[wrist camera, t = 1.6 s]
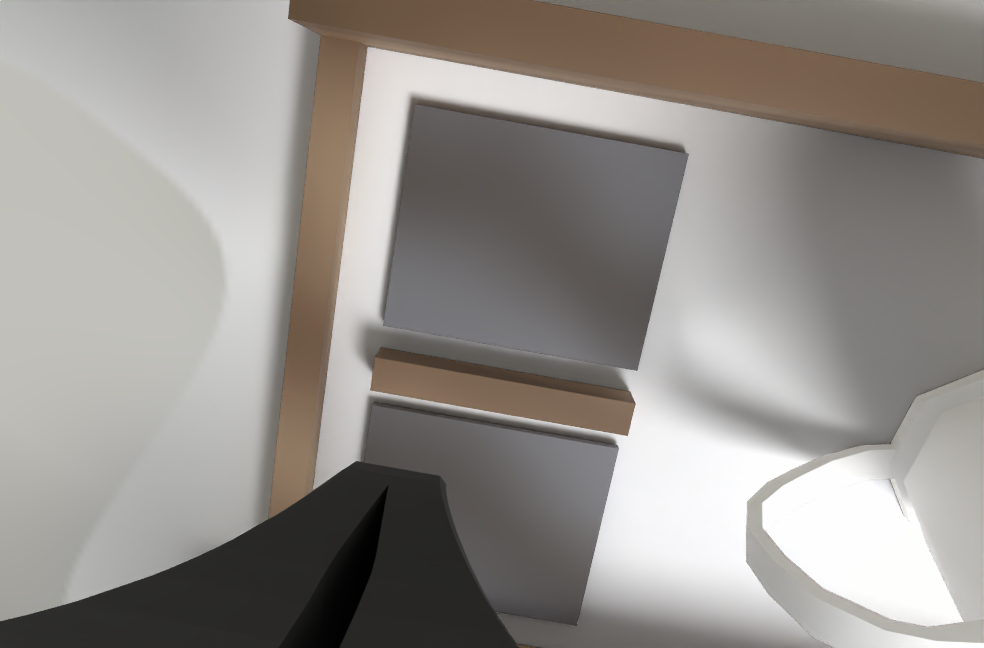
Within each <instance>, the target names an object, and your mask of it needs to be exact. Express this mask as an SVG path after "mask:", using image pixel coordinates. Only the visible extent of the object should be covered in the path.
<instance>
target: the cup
mask: <svg viewBox="0 0 984 648" xmlns="http://www.w3.org/2000/svg"><path fill="white" fill-rule="evenodd" d="M877 479H890V480H891V483H892V485H893V488H894V491H895V493H896V496H897V499H898V501H899V504H900V507H901V509H902V512H903V515H904V517H905V518H906V519H907V520H908V521H909V522H910V523H911V524H914V525H917V526H920V527H921V530H922V533H923V535H924V538H925V541H926V543H927V546H928V548H929V550H930V552H931V554H932V556H933V559H934V561H935V563H936V565H937V567H938V569H939V571H940V573H941V575H942V578H943V580H944V582H945V584H946V586H947V588H948V590H949V592H950V594H951V596H952V599H953V601H954V603H955V605H956V607H957V609H958V611H959V613H960V615H961V617H962V619H963V621H964V622H960V623H953V624H946V625H939V626H931V627H926V626H921V625H916V624H911V623H906V622H901V621H896V620H891V619H889V618H886V617H884V616H882V615H880V614H878V613H876V612H873V611H871V610H869V609H867V608H865V607H862V606H860V605H858V604H856V603H854V602H852V601H849V600H847V599H845V598H843V597H841V596H839V595H836V594H834V593H832V592H830V591H828V590H826V589H823V588H822V587H821V586H820V585H819V584H817V583H816V582H815V581H814V580H813V579H812V578H811V577H809V576H808V575H807V574H806V573H805V572H804V571H803V570H801V569H800V568H799V567H798V566H797V565H796V564H795V563H793V562H792V561H791V560H790V559H789V558H788V557H787V556H785V555H784V553H783V552H782V551H781V550H780V548H779V547H778V546H777V545H776V544H775V542H774V541H773V540H772V539H771V537H770V536H769V535H768V534H767V533H766V531H767V530H768V529H769V528H770V527H771V526H772V525H773V524H774V523H776V522H777V521H778V520H779V519H780V518H781V517H783V516H784V515H786V514H788V513H790V512H791V511H793V510H795V509H797V508H798V507H800V506H802V505H804V504H805V503H807V502H809V501H811V500H813V499H815V498H817V497H819V496H821V495H823V494H825V493H827V492H829V491H831V490H834V489H837V488H841V487H844V486H847V485H851V484H854V483H857V482H861V481H864V480H877ZM746 562H747V564H748V565H749V566H750V568H751V569H752V571H753V572H754V574H755V575H756V577H757V578H758V580H759V581H760V582H761V584H762V585H763V587H764V588H765V590H766V591H767V593H768V594H769V595H770V596H771V597H772V598H773V599H774V600H775V601H776V602H777V603H778V604H779V605H780V606H781V607H782V608H783V609H784V610H785V611H786V612H787V613H788V614H789V615H790V616H791V617H793V618H794V619H795V620H796V621H797V622H798V623H799V624H800V625H801V626H802V627H803V628H804V629H805V630H806V631H807V632H808V633H809V634H810V635H811V636H812V637H814V638H816V639H817V640H819V641H821V642H823V643H825V644H827V645H829V646H831V647H833V648H984V370H981V371H979V372H976V373H974V374H971V375H969V376H966V377H964V378H961V379H959V380H956V381H954V382H951V383H949V384H946V385H944V386H941V387H939V388H936V389H934V390H931V391H929V392H926V393H924V394H921V395H919V396H916V397H915V399H914V401H913V403H912V405H911V406H910V408H909V410H908V412H907V414H906V416H905V418H904V419H903V421H902V423H901V425H900V427H899V429H898V431H897V432H896V434H895V436H894V438H893V440H892V442H891V444H879V445H860V446H856V447H853V448H849V449H845V450H842V451H838V452H835V453H831V454H827V455H824V456H821V457H819V458H817V459H815V460H812V461H810V462H808V463H806V464H803V465H801V466H799V467H797V468H795V469H792V470H790V471H788V472H787V473H785V474H783V475H781V476H779V477H777V478H775V479H773V480H771V481H769V482H767V483H766V484H765V485H764V486H763V487H762V488H761V489H760V490H759V491H758V492H757V493H756V494H755V495H754V496H753V497H751V498H750V499H749V500H748V501H747V524H746Z"/></svg>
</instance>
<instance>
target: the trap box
mask: <svg viewBox="0 0 984 648" xmlns="http://www.w3.org/2000/svg"><path fill="white" fill-rule="evenodd" d="M288 19H290V20H292V21H294V22H296V23H298V24H300V25H302V26H304V27H306V28H308V29H310V30H312V31H314V32H316V33H318V34H320V35H321V38H320V47H319V57H318V66H317V75H316V84H315V94H314V103H313V112H312V121H311V130H310V140H309V149H308V158H307V167H306V177H305V186H304V195H303V204H302V214H301V223H300V232H299V241H298V251H297V260H296V269H295V278H294V288H293V297H292V306H291V315H290V325H289V334H288V343H287V352H286V362H285V371H284V380H283V389H282V399H281V408H280V417H279V426H278V435H277V445H276V454H275V463H274V472H273V482H272V491H271V500H270V509H269V519H270V518H272V517H273V516H275V515H277V514H279V513H280V512H282V511H283V510H285V509H286V508H288V507H289V506H291V505H292V504H294V503H295V502H297V501H299V500H300V499H302V498H303V497H305V496H306V495H308V494H309V493H311V492H312V490H313V482H314V474H315V466H316V458H317V450H318V442H319V433H320V425H321V417H322V409H323V401H324V393H325V385H326V377H327V369H328V361H329V353H330V345H331V337H332V328H333V320H334V312H335V304H336V296H337V288H338V280H339V272H340V264H341V256H342V248H343V240H344V232H345V224H346V215H347V207H348V199H349V191H350V183H351V175H352V167H353V159H354V151H355V143H356V135H357V127H358V119H359V111H360V102H361V94H362V86H363V78H364V70H365V62H366V54H367V46H368V47H373V48H379V49H384V50H390V51H395V52H401V53H406V54H412V55H417V56H423V57H428V58H434V59H439V60H445V61H450V62H456V63H461V64H467V65H472V66H478V67H483V68H489V69H494V70H500V71H505V72H511V73H516V74H522V75H527V76H533V77H538V78H544V79H549V80H555V81H560V82H566V83H571V84H577V85H582V86H588V87H593V88H599V89H604V90H610V91H615V92H621V93H626V94H632V95H637V96H643V97H648V98H654V99H659V100H665V101H670V102H676V103H681V104H687V105H692V106H698V107H703V108H709V109H714V110H720V111H725V112H731V113H736V114H742V115H747V116H753V117H758V118H764V119H769V120H775V121H780V122H786V123H791V124H797V125H802V126H808V127H813V128H819V129H824V130H830V131H835V132H841V133H846V134H852V135H857V136H863V137H868V138H874V139H879V140H885V141H890V142H896V143H901V144H907V145H912V146H918V147H923V148H928V149H934V150H939V151H945V152H950V153H956V154H961V155H967V156H972V157H978V158H983V159H984V83H981V82H975V81H970V80H964V79H959V78H953V77H948V76H942V75H937V74H931V73H926V72H921V71H915V70H910V69H904V68H899V67H893V66H888V65H882V64H877V63H871V62H866V61H860V60H855V59H850V58H844V57H839V56H833V55H828V54H822V53H817V52H811V51H806V50H800V49H795V48H789V47H784V46H779V45H773V44H768V43H762V42H757V41H751V40H746V39H740V38H735V37H729V36H724V35H718V34H713V33H708V32H702V31H697V30H691V29H686V28H680V27H675V26H669V25H664V24H658V23H653V22H647V21H642V20H637V19H631V18H626V17H620V16H615V15H609V14H604V13H598V12H593V11H587V10H582V9H576V8H571V7H566V6H560V5H555V4H549V3H544V2H538V1H533V0H290V5H289V15H288ZM688 155H689V154H687V153H682V152H676V151H671V150H665V149H660V148H654V147H649V146H643V145H638V144H632V143H626V142H621V141H615V140H610V139H604V138H599V137H593V136H588V135H582V134H577V133H571V132H566V131H560V130H555V129H549V128H544V127H538V126H533V125H527V124H522V123H516V122H511V121H505V120H500V119H494V118H489V117H483V116H478V115H472V114H467V113H461V112H455V111H450V110H444V109H439V108H433V107H428V106H422V105H417V104H415V105H414V112H413V119H412V126H411V133H410V140H409V147H408V154H407V161H406V168H405V175H404V183H403V190H402V197H401V204H400V211H399V218H398V225H397V232H396V239H395V246H394V253H393V260H392V267H391V274H390V281H389V288H388V295H387V302H386V309H385V316H384V323H383V326H389V327H394V328H400V329H406V330H411V331H417V332H423V333H428V334H434V335H439V336H445V337H451V338H456V339H462V340H467V341H473V342H479V343H484V344H490V345H496V346H501V347H507V348H512V349H518V350H524V351H529V352H535V353H541V354H546V355H552V356H557V357H563V358H569V359H574V360H580V361H585V362H591V363H597V364H602V365H608V366H614V367H619V368H625V369H630V370H636V371H637V370H638V365H639V361H640V357H641V353H642V348H643V344H644V340H645V336H646V332H647V327H648V323H649V319H650V315H651V311H652V306H653V302H654V298H655V294H656V289H657V285H658V281H659V277H660V273H661V268H662V264H663V260H664V256H665V252H666V247H667V243H668V239H669V235H670V231H671V226H672V222H673V218H674V214H675V209H676V205H677V201H678V197H679V193H680V188H681V184H682V180H683V176H684V172H685V167H686V163H687V159H688ZM370 390H371V391H377V392H383V393H388V394H394V395H400V396H405V397H411V398H417V399H422V400H428V401H434V402H439V403H445V404H451V405H456V406H462V407H467V408H473V409H479V410H484V411H490V412H496V413H501V414H507V415H513V416H518V417H524V418H530V419H535V420H541V421H547V422H552V423H558V424H563V425H569V426H575V427H580V428H586V429H592V430H597V431H603V432H609V433H614V434H620V435H626V436H628V433H629V429H630V424H631V420H632V416H633V412H634V408H635V401H634V399H633V397H632V395H631V392H629V391H623V390H618V389H612V388H606V387H601V386H595V385H590V384H584V383H578V382H573V381H567V380H561V379H556V378H550V377H545V376H539V375H533V374H528V373H522V372H516V371H511V370H505V369H500V368H494V367H488V366H483V365H477V364H471V363H466V362H460V361H455V360H449V359H443V358H438V357H432V356H426V355H421V354H415V353H410V352H404V351H398V350H393V349H387V348H381V349H380V350H379V352H378V353H377V355H376V357H375V360H374V367H373V375H372V382H371V389H370ZM618 450H619V448H618V445H613V444H607V443H601V442H596V441H590V440H584V439H579V438H573V437H567V436H562V435H556V434H550V433H545V432H539V431H533V430H528V429H522V428H517V427H511V426H505V425H500V424H494V423H488V422H483V421H477V420H471V419H466V418H460V417H454V416H449V415H443V414H437V413H432V412H426V411H420V410H415V409H409V408H403V407H398V406H392V405H387V404H381V403H375V402H373V404H372V408H371V415H370V422H369V429H368V436H367V443H366V450H365V457H364V463H370V464H376V465H381V466H387V467H393V468H399V469H404V470H410V471H416V472H421V473H427V474H433V475H439V476H441V478H442V479H443V481H444V482H445V483H446V493H447V500H448V504H449V508H450V512H451V515H452V519H453V522H454V525H455V528H456V531H457V534H458V536H459V539H460V541H461V544H462V546H463V549H464V551H465V554H466V556H467V558H468V561H469V563H470V565H471V567H472V569H473V571H474V573H475V575H476V577H477V579H478V581H479V583H480V585H481V587H482V589H483V591H484V593H485V595H486V597H487V598H488V600H489V602H490V604H491V605H492V607H493V609H494V610H495V612H501V613H506V614H512V615H518V616H523V617H529V618H535V619H541V620H546V621H552V622H558V623H564V624H569V625H575V626H577V622H578V618H579V614H580V610H581V605H582V601H583V597H584V593H585V589H586V584H587V580H588V576H589V572H590V567H591V563H592V559H593V555H594V551H595V546H596V542H597V538H598V534H599V530H600V525H601V521H602V517H603V513H604V508H605V504H606V500H607V496H608V492H609V487H610V483H611V479H612V475H613V471H614V466H615V462H616V458H617V454H618ZM517 645H518V646H519V648H536V647H530V646H525V645H519V644H517Z"/></svg>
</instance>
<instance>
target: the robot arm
mask: <svg viewBox="0 0 984 648" xmlns="http://www.w3.org/2000/svg"><path fill="white" fill-rule="evenodd" d="M0 648H519V646H518V645H517V644H516V642H515V641H514V640H513V638H512V637H511V635H510V634H509V632H508V631H507V629H506V628H505V626H504V625H503V623H502V622H501V620H500V619H499V617H498V615H497V614H496V612H495V610H494V609H493V607H492V605H491V604H490V602H489V600H488V598H487V597H486V595H485V593H484V591H483V589H482V587H481V585H480V583H479V581H478V579H477V577H476V575H475V573H474V571H473V569H472V567H471V565H470V563H469V561H468V558H467V556H466V554H465V551H464V549H463V546H462V544H461V541H460V539H459V536H458V534H457V531H456V528H455V525H454V522H453V519H452V515H451V512H450V508H449V504H448V500H447V493H446V483H445V482H444V481H443V479H442V478H441V476H439V475H433V474H427V473H421V472H416V471H410V470H404V469H399V468H393V467H387V466H381V465H376V464H370V463H364V462H359V461H356V462H354V463H353V464H351V465H350V466H348V467H347V468H345V469H344V470H342V471H341V472H339V473H338V474H336V475H335V476H333V477H332V478H331V479H329V480H328V481H326V482H325V483H323V484H322V485H321V486H319V487H318V488H316V489H315V490H313V491H312V492H311V493H309V494H308V495H306V496H305V497H303V498H302V499H300V500H299V501H297V502H295V503H294V504H292V505H291V506H289V507H288V508H286V509H285V510H283V511H282V512H280V513H279V514H277V515H275V516H273V517H272V518H270V519H268V520H266V521H265V522H263V523H261V524H259V525H258V526H256V527H254V528H252V529H251V530H249V531H247V532H245V533H244V534H242V535H240V536H238V537H237V538H235V539H233V540H231V541H229V542H227V543H225V544H223V545H221V546H219V547H217V548H215V549H213V550H211V551H209V552H207V553H204V554H202V555H200V556H198V557H196V558H193V559H191V560H189V561H186V562H184V563H182V564H179V565H177V566H175V567H172V568H170V569H168V570H165V571H163V572H160V573H158V574H155V575H153V576H150V577H147V578H144V579H141V580H138V581H135V582H132V583H129V584H126V585H123V586H120V587H118V588H115V589H112V590H109V591H106V592H103V593H100V594H97V595H94V596H91V597H88V598H85V599H82V600H79V601H76V602H73V603H69V604H66V605H62V606H58V607H55V608H51V609H47V610H44V611H40V612H37V613H33V614H29V615H26V616H21V617H17V618H13V619H9V620H5V621H0Z"/></svg>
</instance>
